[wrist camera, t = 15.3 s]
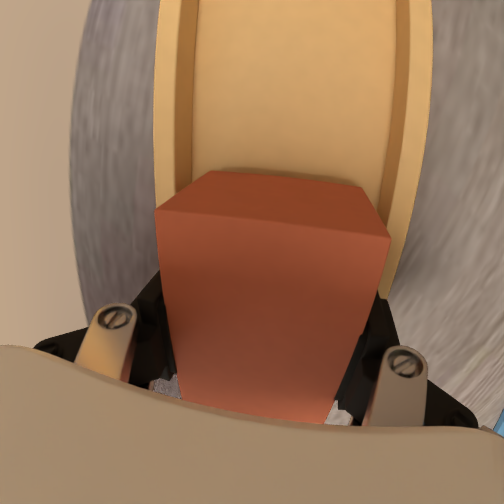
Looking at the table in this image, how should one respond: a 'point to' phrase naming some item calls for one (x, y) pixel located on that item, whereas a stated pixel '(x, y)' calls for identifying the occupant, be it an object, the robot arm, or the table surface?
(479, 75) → the table surface
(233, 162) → the channel
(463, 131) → the table surface
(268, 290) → the terracotta block
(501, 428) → the stadium
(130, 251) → the table surface
